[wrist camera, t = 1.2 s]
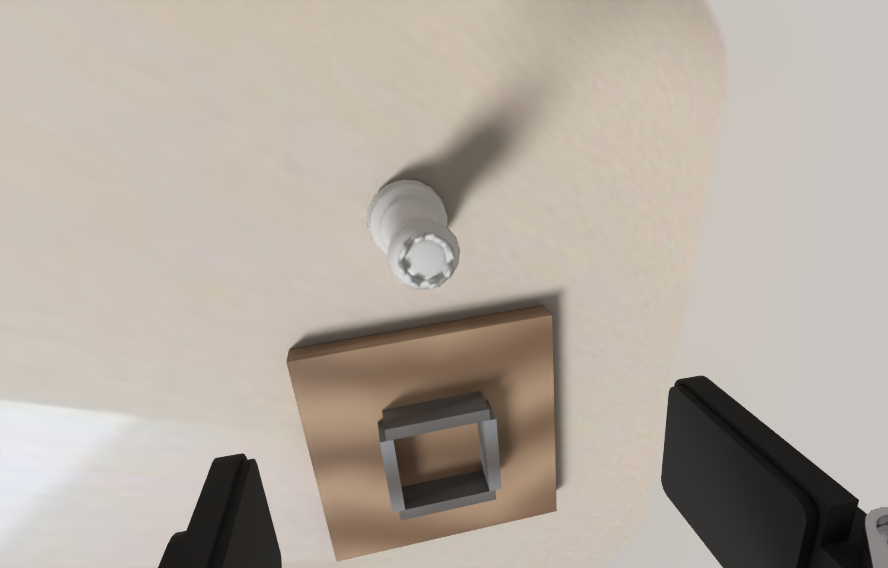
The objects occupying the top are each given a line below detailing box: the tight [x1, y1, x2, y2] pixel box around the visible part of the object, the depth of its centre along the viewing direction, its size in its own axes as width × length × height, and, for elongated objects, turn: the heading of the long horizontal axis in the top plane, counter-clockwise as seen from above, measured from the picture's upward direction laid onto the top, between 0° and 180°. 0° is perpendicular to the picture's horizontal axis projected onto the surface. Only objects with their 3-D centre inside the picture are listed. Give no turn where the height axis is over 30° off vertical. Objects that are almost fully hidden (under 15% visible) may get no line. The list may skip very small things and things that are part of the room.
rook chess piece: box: [367, 180, 460, 290], centre depth 26 cm, size 4×4×8 cm
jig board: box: [287, 305, 557, 561], centre depth 33 cm, size 16×16×4 cm
